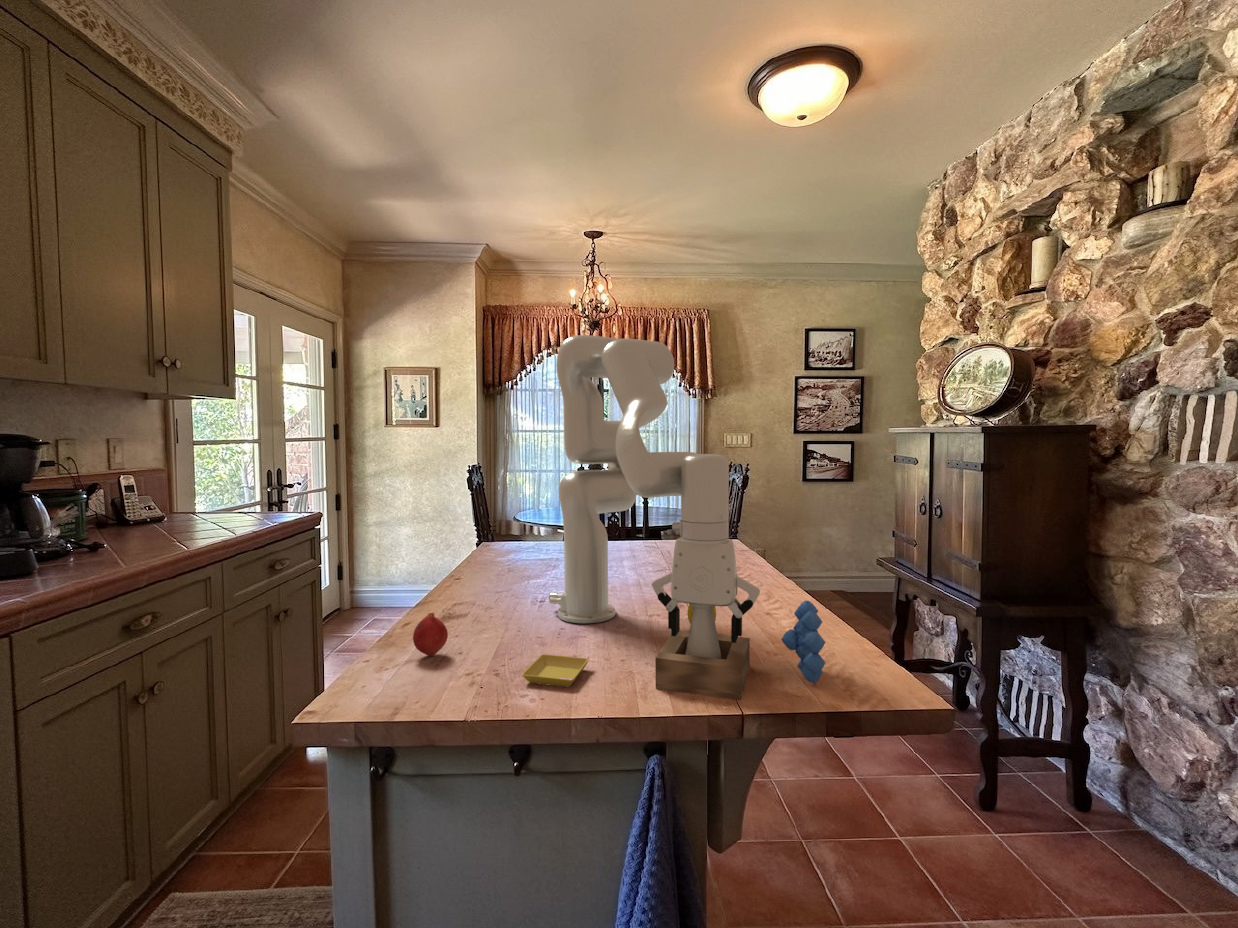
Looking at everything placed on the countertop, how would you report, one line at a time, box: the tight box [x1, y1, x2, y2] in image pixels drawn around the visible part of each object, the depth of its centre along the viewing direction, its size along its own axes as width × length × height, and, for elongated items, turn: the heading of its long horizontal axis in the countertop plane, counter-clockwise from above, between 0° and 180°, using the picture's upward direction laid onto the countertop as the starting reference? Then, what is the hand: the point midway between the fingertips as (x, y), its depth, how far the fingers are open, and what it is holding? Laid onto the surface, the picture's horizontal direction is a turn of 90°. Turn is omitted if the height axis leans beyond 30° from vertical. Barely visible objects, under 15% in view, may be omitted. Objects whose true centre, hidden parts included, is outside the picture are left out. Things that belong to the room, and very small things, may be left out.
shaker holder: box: [654, 630, 751, 701], centre depth 91 cm, size 13×13×5 cm
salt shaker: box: [686, 604, 721, 659], centre depth 91 cm, size 6×6×13 cm
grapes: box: [780, 600, 826, 684], centre depth 91 cm, size 12×7×12 cm, turn 173°
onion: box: [412, 611, 449, 657], centre depth 101 cm, size 6×6×8 cm
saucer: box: [521, 653, 590, 687], centre depth 92 cm, size 9×9×2 cm
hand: (704, 636), depth 91 cm, fingers open, 9 cm apart
